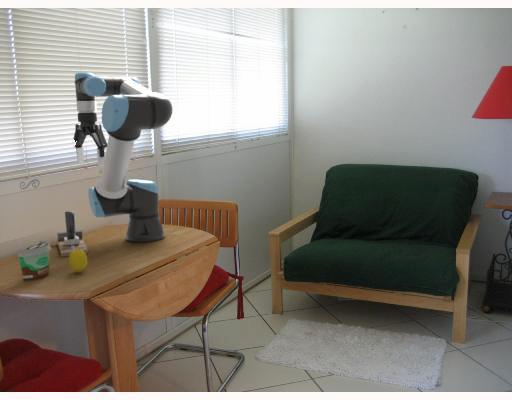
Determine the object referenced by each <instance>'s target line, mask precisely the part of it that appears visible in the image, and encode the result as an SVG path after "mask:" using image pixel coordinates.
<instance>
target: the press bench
mask: <svg viewBox="0 0 512 400" xmlns="http://www.w3.org/2000/svg"><path fill="white" fill-rule="evenodd" d="M75 231H76V236H78V237H79V242H80V244H75V245H66V246H65V243H64V237H67V232H66V231H61V232H57V233H56V234H57V244H58V245H57V246H58V248H59V253H60V257H62V258H65V257H69V256H70V254H71V252H72V251H74V250H76V248H78V249H80V250H83V251H84V252H85V253H86V255H88V254H89V251H88V247H87V245H86V244H85V241H84V238H83V230H81V229H80V230H75Z"/></svg>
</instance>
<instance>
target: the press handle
mask: <svg viewBox="0 0 512 400" xmlns="http://www.w3.org/2000/svg"><path fill="white" fill-rule="evenodd" d="M64 218H65V232H67V237H64V243H65V246H66V245H75V244H80V242H79V237H78V236H76V231H77V230H76V220H75V219H76V218H75V212H74V210H67V211H64Z"/></svg>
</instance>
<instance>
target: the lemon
mask: <svg viewBox="0 0 512 400" xmlns="http://www.w3.org/2000/svg"><path fill="white" fill-rule="evenodd" d="M68 262H69V263H68V264H69V267H70V268H71V270H73V271H75V272H77V273H81V272H82V271H83V270H85V269H86V267H88V266H87V265H88V256H87V254H86V253H85V252H84V251H83V250H80V249H78V248H76V250H74V251H72V252H71V254H70V256H68Z"/></svg>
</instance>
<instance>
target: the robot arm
mask: <svg viewBox="0 0 512 400" xmlns="http://www.w3.org/2000/svg"><path fill="white" fill-rule="evenodd" d="M74 85H75V99H76V112H78V113H77V122H78V123H76V124H75V129H74V130H75V131H74V135H73V139H74V140H75V142H76V141H77V142H76V145H75V146H74V148H75V149H76V150H75V151H76V159H77V160H76V161H77V164H78V165H81V164H85V157H84V148H83V147H84V146H83V144H84V143H85V140H86V139H87V136H89V137H91V138H92V140H93V142H94V143H95V145H96V147H97V149H96V156H97V166H102V172H101V177H100V178H99V179H98V180H97V181H96V183H95V187H94V186H92V187H89V189H88V190H87V191H88V194H87V195H88V201H89V205H90V209H91V212H92V215H94V217H96V218H99V219H101V218H109V217H110V218H111V217H116V216H124V215H128V216H129V218H128V219H129V220H128V224H127V229H126V232H125V238H126V241H128V242H134V243H135V242H136V243H144V242H145V243H147V242H154V241H158V240H161V239H163V238H164V237H165V235H166V234H165V229H164V228H163V224H162V221H161V219H160V211H159V210H160V207H159V206H160V205H159V192H158V184H157V183H156V182H155V181H153V180H146V179H145V180H144V179H128V180H126V179H127V174H128V169H129V166H130V162H131V157H132V152H133V147H134V144H135V141H136V140H138V139H139V138H140V136H141V133H142V131H144V130H146V131H147V130H156V129H160V128H163V126H165V125H166V124H167V123H168V122H169V121H170V120H171V118H172V115H173V105H172V102H171V101H170V99H169V98H168V97H167V96H165V95H164V94H162V93H160V92H152V91H151V90H149V89H148V88H146V87H144V86H142V84H141V82H140V80H139V78H138V77H134V76H133V77H131V76H98V75H97V76H95V74H94V73H92V72H77V73H75V74H74ZM97 97H106V99H105V100H104V102H103V104H102V108H101V123H97V124H96V122H98V114H97V100H96V99H97ZM102 127H103V128H102ZM103 129H104V130H105V131H106V133H107V135H108V139H107V140H106V137H105V135H104V132H103ZM105 149H106V151H105Z"/></svg>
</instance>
